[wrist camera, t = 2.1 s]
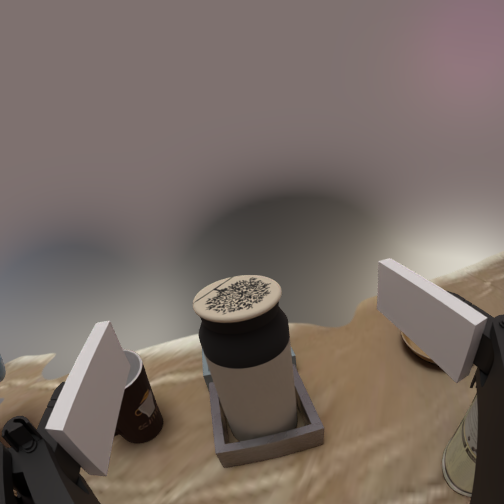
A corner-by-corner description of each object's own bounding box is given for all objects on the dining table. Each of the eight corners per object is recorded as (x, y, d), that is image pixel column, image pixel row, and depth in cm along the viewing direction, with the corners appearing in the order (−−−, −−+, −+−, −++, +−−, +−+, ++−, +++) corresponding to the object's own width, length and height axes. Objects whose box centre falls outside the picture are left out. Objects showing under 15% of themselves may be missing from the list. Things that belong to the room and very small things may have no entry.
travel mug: (311, 415, 29) (303, 283, 24) (266, 460, 24) (233, 332, 18) (261, 390, 35) (237, 267, 29) (217, 426, 30) (171, 301, 24)
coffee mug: (146, 394, 36) (120, 341, 33) (184, 422, 31) (156, 367, 27) (87, 435, 28) (49, 383, 24) (117, 473, 22) (71, 423, 19)
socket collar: (223, 467, 24) (215, 453, 23) (215, 400, 34) (208, 382, 33) (323, 444, 25) (324, 427, 24) (295, 382, 35) (293, 364, 34)
